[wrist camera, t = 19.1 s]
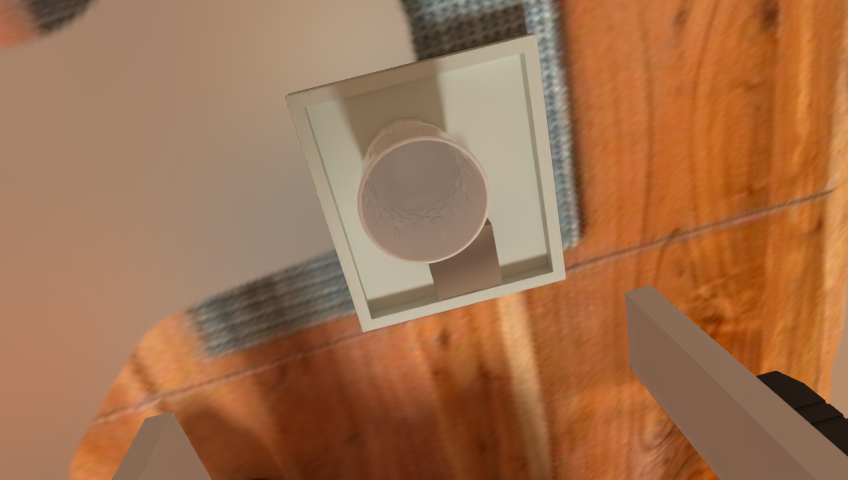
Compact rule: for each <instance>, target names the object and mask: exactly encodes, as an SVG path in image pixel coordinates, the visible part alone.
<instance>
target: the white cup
mask: <svg viewBox="0 0 848 480" xmlns="http://www.w3.org/2000/svg"><path fill="white" fill-rule="evenodd" d="M490 198H491V196H490V186H489V182H488V178H487V175H486V173H485V171H484V169H483V167H482V165H481V164H480V162H479V161H478V160H477V158H476V157H475V156H474V155H473V154H472V153H471V152H470V151H469V150H467V149H466V148H465V147H463V146H462V145H461V144H460V143H459V142H457V141H456V140H455V139H454V138H453V137H451V136H450V135H449V134H447V133H446V132H444V131H443V130H441V129H439V128H438V127H436V126H434V125H431V124H429V123H427V122H425V121H423V120H421V119H398V120H396V121H394V122H392V123H390V124H388V125H386V126H384V127H382V128H381V129H380V130H379V131H378V133H377V134H376V135H375V137H374V138H373V139H372V141H371V142H370V143H369V145H368V151H367V153H366V155H365V158H364V162H363V166H362V171H361V177H360V184H359V190H358V197H357V207H358V214H359V218H360V222H361V224H362V227H363V229H364V231H365V233H366V234H367V236H368V237H369V239H370V240H371V241H372V242H373V243H374V244H375V245H376V246H377V247H378V248H379V249H380V250H381V251H383V252H384V253H386V254H387V255H389V256H391V257H393V258H395V259H398V260H401V261H404V262H409V263H417V264H425V263H434V262H438V261H442V260H445V259H447V258H450V257H452V256H454V255H456V254H458V253H459V252H461V251H462V250H464V249H465V248H466V247H467V246H468V245H470V244H471V243H472V242H473V240H474V239H475V238H476V237H477V236H478V234H479V233H480V231H481V230H482V228H483V226H484V224H485V222H486V219H487V216H488V213H489V208H490Z"/></svg>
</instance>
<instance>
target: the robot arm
mask: <svg viewBox="0 0 848 480" xmlns="http://www.w3.org/2000/svg"><path fill="white" fill-rule="evenodd" d="M625 296H626V311H627V327H628V342H629V358H630V369H631V370H632V371H633V372H634V373H635V375H636V376H637V377H638V378H639V380H640V381H641V382H642V383H643V385H644V386H645V387H646V388H647V390H648V391H649V392H650V393H651V395H652V396H653V397H654V398H655V400H656V401H657V402H658V403H659V405H660V406H661V407H662V408H663V410H664V411H665V412H666V413H667V415H668V416H669V417H670V418H671V419H672V421H673V422H674V423H675V424H676V426H677V427H678V428H679V429H680V431H681V432H682V433H683V434H684V436H685V437H686V438H687V439H688V441H689V442H690V443H691V444H692V446H693V447H694V448H695V449H696V451H697V452H698V453H699V454H700V456H701V457H702V458H703V459H704V460H705V462H706V463H707V464H708V465H709V467H710V468H711V469H712V470H713V472H714V473H715V474H716V475H717V477H718V478H719V479H720V480H848V418H847V419H845V418H844V417H843V414H842V413H840V412H839V411H838V410H837V409H835V408H834V407H833V406H832V405H830V404H827V403H826V402H825V400H824V399H823V398H822V397H820V396H819V395H818V394H817V393H815V392H814V391H813V390H811V389H810V388H809V387H808V386H806V385H805V384H804V383H802V382H800V381H798V380H796V379H793V378H791V377H789V376H787V375H785V374H782V373H780V372H778V371H773V372H769V373H765V374H762V375H758V376H755V375H753V374H752V373H751V372H750V371H749V370H748V369H747V368H745V367H744V366H743V365H742V364H741V363H740V362H739V361H737V360H736V359H735V358H734V357H733V356H732V355H730V354H729V353H728V352H727V351H726V350H725V349H724V348H722V347H721V346H720V345H719V344H718V343H717V342H716V341H714V340H713V339H712V338H711V337H710V336H709V335H708V334H706V333H705V332H704V331H703V330H702V329H701V328H699V327H698V326H697V325H696V324H695V323H694V322H693V321H691V320H690V319H689V318H688V317H687V316H686V315H685V314H683V313H682V312H681V311H680V310H679V309H678V308H677V307H675V306H674V305H673V304H672V303H671V302H670V301H668V300H667V299H666V298H665V297H664V296H663V295H662V294H660V293H659V292H658V291H657V290H656V289H655V288H654V287H652V286H647V287H643V288H639V289H635V290H632V291H628V292H625ZM112 480H212V479H211V477H210V476H209V474H208V472H207V470H206V469H205V467H204V465H203V464H202V462H201V460H200V458H199V457H198V455H197V453H196V451H195V450H194V448H193V446H192V444H191V443H190V441H189V439H188V437H187V436H186V434H185V432H184V430H183V429H182V427H181V425H180V423H179V422H178V420H177V418H176V416H175V415H174V413H173V411H172V412H168V413H165V414H161V415H157V416H153V417H149V418H146V419H145V421H144V422H143V424H142V426H141V428H140V430H139V431H138V433H137V435H136V437H135V439H134V440H133V442H132V444H131V446H130V448H129V450H128V451H127V453H126V455H125V457H124V459H123V460H122V462H121V464H120V466H119V468H118V470H117V471H116V473H115V475H114V477H113V479H112Z"/></svg>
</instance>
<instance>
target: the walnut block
mask: <svg viewBox="0 0 848 480" xmlns="http://www.w3.org/2000/svg"><path fill="white" fill-rule="evenodd" d="M429 267H430V271H431V275H432V278H433V281H434V285H435V288H436V291H437V295H438V298H439V300H441V299H444V298H448V297H452V296H456V295H460V294H464V293H467V292H471V291H475V290H479V289H483V288H486V287H490V286H494V285H498V284H502V277H501V272H500V266H499V261H498V255H497V250H496V245H495V239H494V234H493V228H492V224H491V222H490V221H489V219H488V218H487V219H486V222H485V224H484V226H483V228H482V230H481V231H480V233H479V234H478V236H477V237H476V238H475V239H474V240H473V242H472V243H471V244H470V245H468V246H467V247H466V248H465V249H464V250H462V251H461V252H459V253H458V254H456V255H454V256H452V257H450V258H447V259H445V260H442V261H438V262H434V263H429Z"/></svg>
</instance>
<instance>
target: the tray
mask: <svg viewBox="0 0 848 480" xmlns="http://www.w3.org/2000/svg"><path fill="white" fill-rule="evenodd" d="M285 98H286V101H287V104H288V107H289V110H290V113H291V116H292V119H293V122H294V125H295V128H296V131H297V134H298V137H299V140H300V143H301V146H302V149H303V152H304V155H305V158H306V161H307V164H308V167H309V170H310V173H311V176H312V179H313V182H314V185H315V188H316V191H317V194H318V197H319V200H320V203H321V206H322V209H323V212H324V215H325V218H326V221H327V224H328V227H329V230H330V233H331V236H332V239H333V242H334V245H335V248H336V251H337V254H338V257H339V260H340V263H341V266H342V269H343V272H344V275H345V278H346V281H347V284H348V287H349V290H350V293H351V296H352V299H353V302H354V305H355V308H356V311H357V314H358V317H359V320H360V323H361V326H362V329H363V332H366V331H370V330H374V329H378V328H381V327H385V326H389V325H393V324H397V323H400V322H404V321H408V320H412V319H416V318H420V317H423V316H427V315H431V314H435V313H439V312H442V311H446V310H450V309H454V308H458V307H461V306H465V305H469V304H473V303H477V302H481V301H484V300H488V299H492V298H496V297H500V296H503V295H507V294H511V293H515V292H519V291H523V290H526V289H530V288H534V287H538V286H542V285H545V284H549V283H553V282H557V281H561V280H565V279H566V276H565V267H564V259H563V251H562V243H561V234H560V226H559V218H558V210H557V201H556V193H555V185H554V177H553V168H552V160H551V152H550V143H549V135H548V127H547V119H546V110H545V102H544V94H543V86H542V77H541V69H540V61H539V53H538V44H537V36H536V34H525V35H521V36H517V37H513V38H509V39H505V40H501V41H497V42H493V43H489V44H485V45H481V46H477V47H473V48H469V49H465V50H462V51H458V52H454V53H450V54H446V55H442V56H438V57H434V58H430V59H426V60H422V61H418V62H414V63H410V64H406V65H402V66H398V67H394V68H390V69H386V70H382V71H378V72H374V73H370V74H366V75H362V76H358V77H354V78H350V79H346V80H342V81H338V82H334V83H330V84H326V85H322V86H318V87H314V88H310V89H306V90H302V91H298V92H294V93H290V94H288V95H287V96H286V97H285ZM398 119H421V120H423V121H425V122H427V123H429V124H431V125H434V126H436V127H438V128H439V129H441V130H443V131H444V132H446V133H447V134H449V135H450V136H451V137H453V138H454V139H455V140H456V141H457V142H459V143H460V144H461V145H462V146H463V147H465V148H466V149H467V150H469V151H470V152H471V153H472V154H473V155H474V156H475V157H476V158H477V160H478V161H479V162H480V164H481V165H482V167H483V169H484V171H485V173H486V175H487V178H488V182H489V186H490V196H491V198H490V208H489V213H488V216H487V218H488V219H489V221H490V222H491V224H492V228H493V234H494V239H495V245H496V250H497V255H498V261H499V266H500V272H501V277H502V284H498V285H494V286H490V287H486V288H483V289H479V290H475V291H471V292H467V293H464V294H460V295H456V296H452V297H448V298H444V299H441V300H439V298H438V295H437V291H436V288H435V285H434V281H433V278H432V275H431V271H430V267H429V263H425V264H417V263H409V262H404V261H401V260H398V259H395V258H393V257H391V256H389V255H387V254H386V253H384V252H383V251H381V250H380V249H379V248H378V247H377V246H376V245H375V244H374V243H373V242H372V241H371V240H370V239H369V237H368V236H367V234H366V233H365V231H364V229H363V227H362V224H361V222H360V218H359V214H358V207H357V197H358V190H359V184H360V177H361V171H362V166H363V162H364V158H365V155H366V153H367V151H368V145H369V143H370V142H371V141H372V139H373V138H374V137H375V135H376V134H377V133H378V131H379V130H380V129H381V128H382V127H384V126H386V125H388V124H390V123H392V122H394V121H396V120H398Z"/></svg>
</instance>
